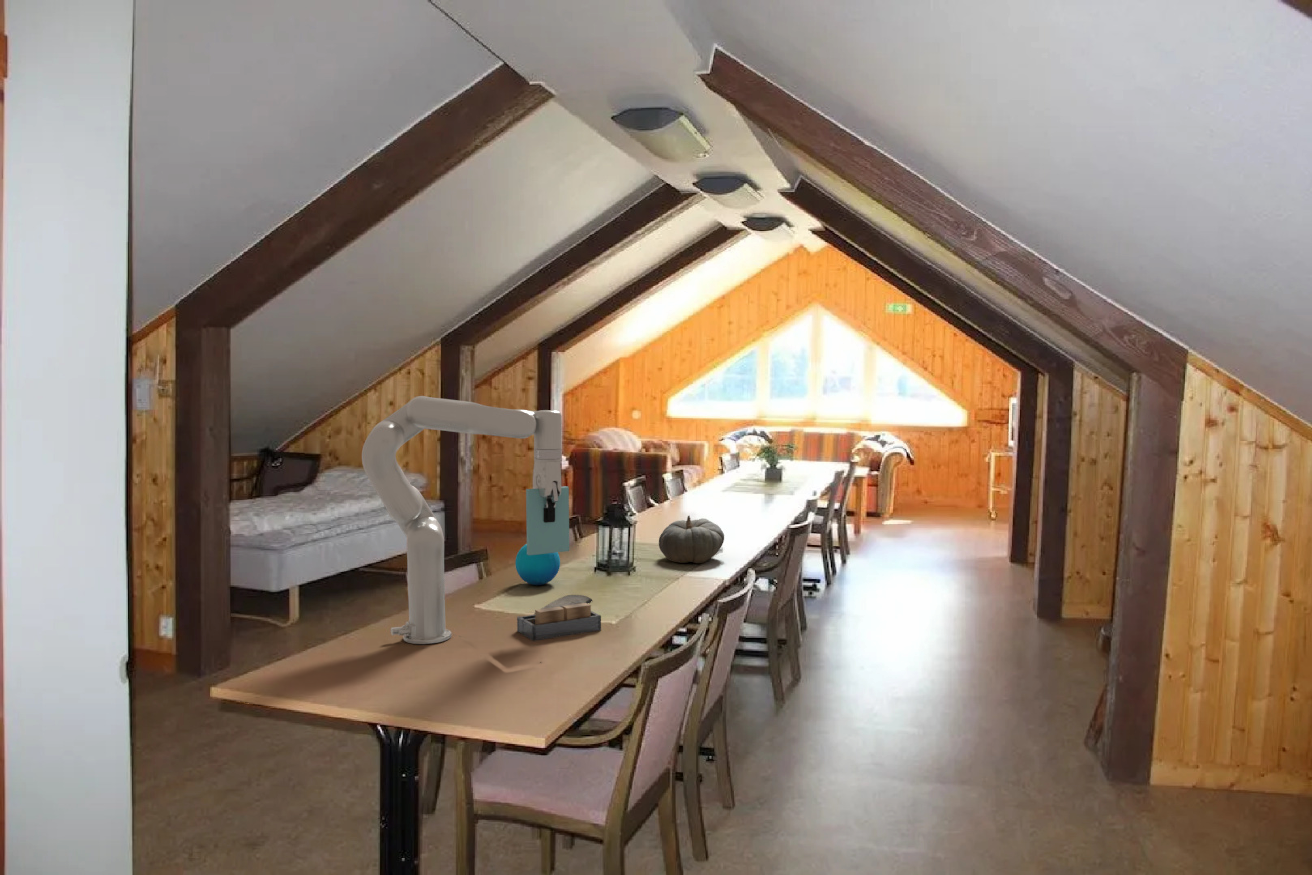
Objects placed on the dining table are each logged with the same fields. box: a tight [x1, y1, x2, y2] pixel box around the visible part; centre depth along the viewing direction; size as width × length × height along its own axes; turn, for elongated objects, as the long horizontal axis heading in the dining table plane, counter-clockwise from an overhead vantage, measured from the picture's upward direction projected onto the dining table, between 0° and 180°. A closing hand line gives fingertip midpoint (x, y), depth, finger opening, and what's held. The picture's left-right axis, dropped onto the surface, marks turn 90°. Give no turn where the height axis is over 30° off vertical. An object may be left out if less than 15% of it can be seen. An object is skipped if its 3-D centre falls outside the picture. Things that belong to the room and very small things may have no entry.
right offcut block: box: [563, 603, 592, 620], centre depth 256 cm, size 7×3×7 cm, turn 120°
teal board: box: [525, 485, 570, 555], centre depth 260 cm, size 12×2×18 cm, turn 119°
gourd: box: [658, 515, 725, 564], centre depth 357 cm, size 25×25×17 cm
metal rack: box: [516, 610, 602, 642], centre depth 257 cm, size 20×11×5 cm, turn 120°
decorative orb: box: [515, 543, 561, 586], centre depth 317 cm, size 15×15×15 cm
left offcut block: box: [534, 607, 564, 625], centre depth 252 cm, size 7×3×7 cm, turn 120°
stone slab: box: [532, 594, 593, 615], centre depth 282 cm, size 10×3×30 cm
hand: (547, 521), depth 260 cm, fingers closed on teal board, 1 cm apart
